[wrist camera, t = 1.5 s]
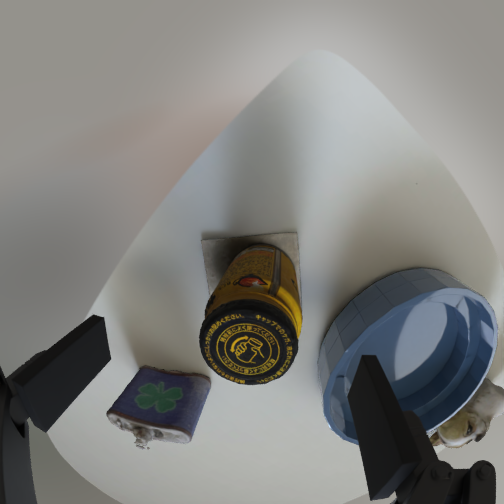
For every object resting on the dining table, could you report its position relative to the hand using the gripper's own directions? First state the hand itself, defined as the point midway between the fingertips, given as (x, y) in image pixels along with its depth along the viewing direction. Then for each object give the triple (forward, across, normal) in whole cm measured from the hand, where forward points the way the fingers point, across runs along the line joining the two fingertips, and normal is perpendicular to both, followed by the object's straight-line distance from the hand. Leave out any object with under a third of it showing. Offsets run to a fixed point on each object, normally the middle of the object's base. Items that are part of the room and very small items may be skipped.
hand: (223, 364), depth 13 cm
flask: (+14, -8, -14) cm, 21 cm away
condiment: (+13, 0, 0) cm, 13 cm away
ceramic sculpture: (+14, +31, -17) cm, 38 cm away
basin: (+13, +17, -7) cm, 23 cm away
